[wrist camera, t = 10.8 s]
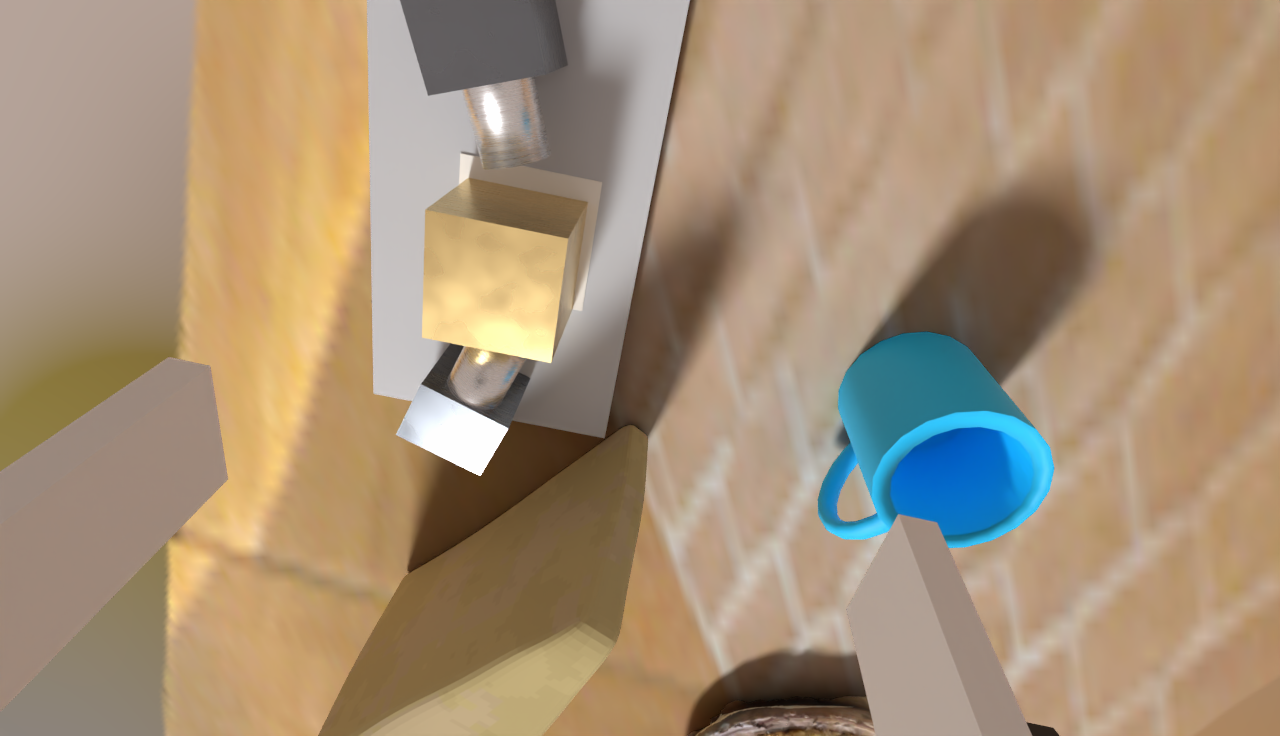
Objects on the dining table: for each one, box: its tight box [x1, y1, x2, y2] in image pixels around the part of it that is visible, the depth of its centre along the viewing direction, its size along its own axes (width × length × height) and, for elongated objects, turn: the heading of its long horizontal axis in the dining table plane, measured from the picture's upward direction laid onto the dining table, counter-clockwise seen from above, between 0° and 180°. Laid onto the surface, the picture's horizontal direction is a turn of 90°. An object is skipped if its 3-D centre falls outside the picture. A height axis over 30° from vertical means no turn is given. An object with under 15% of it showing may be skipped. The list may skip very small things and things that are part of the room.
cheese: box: [318, 425, 648, 736], centre depth 38 cm, size 22×10×15 cm, turn 140°
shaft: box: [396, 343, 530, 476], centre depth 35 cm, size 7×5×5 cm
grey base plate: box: [367, 0, 690, 438], centre depth 34 cm, size 24×14×1 cm, turn 170°
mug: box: [818, 332, 1054, 548], centre depth 35 cm, size 12×8×8 cm
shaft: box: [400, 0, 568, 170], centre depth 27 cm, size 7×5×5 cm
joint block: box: [422, 178, 588, 363], centre depth 31 cm, size 6×6×6 cm
